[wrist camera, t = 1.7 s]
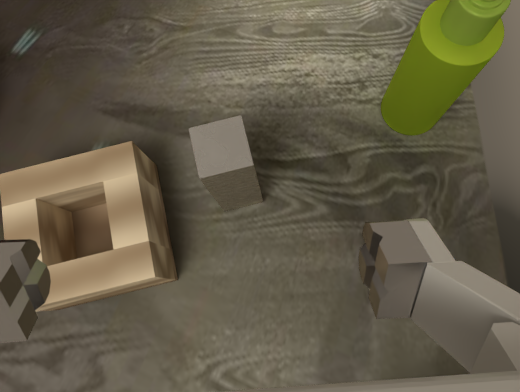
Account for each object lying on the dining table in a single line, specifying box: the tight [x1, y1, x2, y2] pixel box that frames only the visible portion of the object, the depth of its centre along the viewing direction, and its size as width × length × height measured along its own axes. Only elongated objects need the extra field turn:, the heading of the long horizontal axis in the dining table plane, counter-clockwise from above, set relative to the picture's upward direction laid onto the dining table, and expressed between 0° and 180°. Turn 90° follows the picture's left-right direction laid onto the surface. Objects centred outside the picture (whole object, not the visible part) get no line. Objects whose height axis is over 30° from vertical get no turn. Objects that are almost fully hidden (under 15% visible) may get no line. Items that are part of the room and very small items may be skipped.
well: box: [0, 141, 178, 311], centre depth 38 cm, size 12×12×7 cm
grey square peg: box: [189, 115, 263, 212], centre depth 36 cm, size 4×4×12 cm
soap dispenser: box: [381, 0, 511, 135], centre depth 33 cm, size 6×7×20 cm
